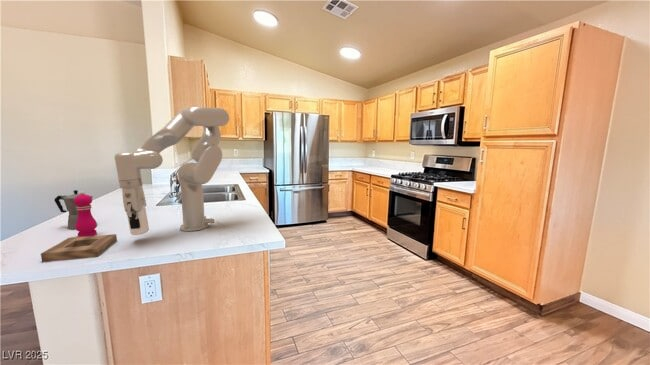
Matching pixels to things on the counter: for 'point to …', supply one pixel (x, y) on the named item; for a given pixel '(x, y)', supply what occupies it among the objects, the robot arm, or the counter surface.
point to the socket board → (79, 248)
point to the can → (143, 223)
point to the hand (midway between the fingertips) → (138, 225)
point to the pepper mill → (84, 216)
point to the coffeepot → (69, 208)
